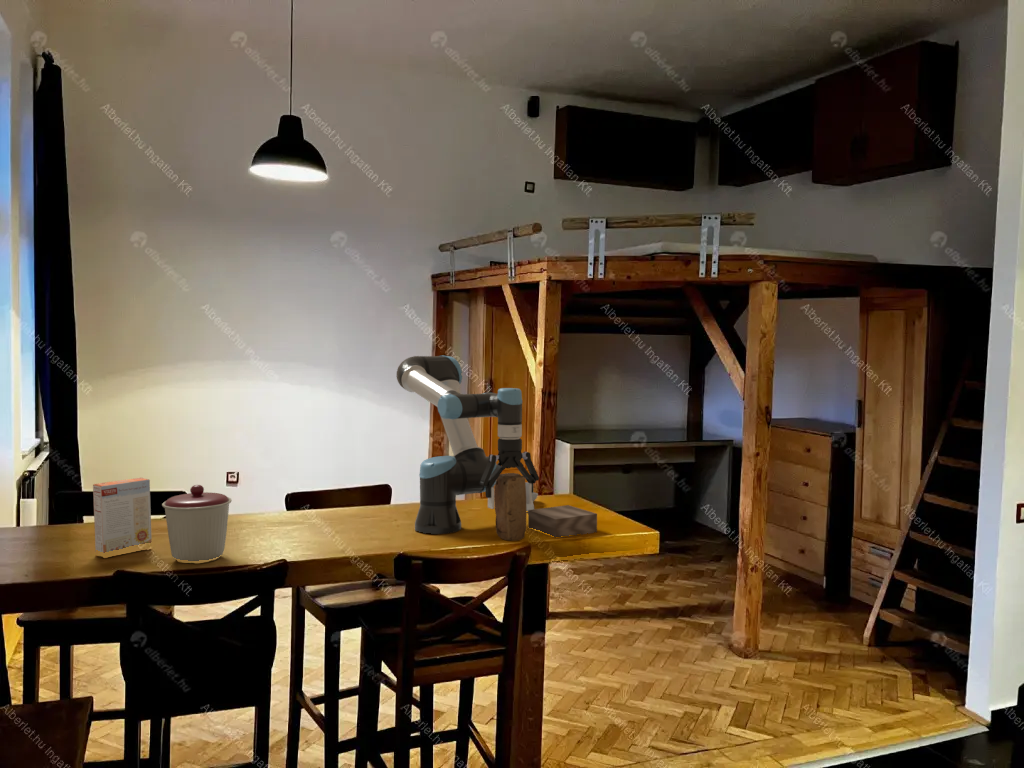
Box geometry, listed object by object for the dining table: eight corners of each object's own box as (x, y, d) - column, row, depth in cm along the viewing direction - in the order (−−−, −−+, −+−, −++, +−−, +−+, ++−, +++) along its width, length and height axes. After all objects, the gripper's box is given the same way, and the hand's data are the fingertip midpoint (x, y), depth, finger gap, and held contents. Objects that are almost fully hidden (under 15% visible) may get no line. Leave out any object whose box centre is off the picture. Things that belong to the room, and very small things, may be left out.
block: (528, 540, 250) (528, 475, 249) (506, 543, 246) (506, 477, 245) (512, 532, 259) (512, 470, 258) (491, 535, 256) (491, 472, 255)
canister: (226, 548, 239) (225, 477, 238) (237, 563, 223) (236, 487, 222) (160, 556, 230) (158, 482, 229) (166, 572, 214) (165, 493, 213)
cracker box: (142, 546, 241) (141, 476, 240) (152, 549, 237) (151, 478, 236) (94, 555, 230) (92, 483, 229) (103, 559, 226) (101, 485, 225)
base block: (555, 538, 252) (556, 519, 252) (528, 528, 266) (528, 510, 265) (596, 532, 260) (597, 513, 260) (568, 522, 274) (568, 505, 274)
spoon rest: (505, 500, 313) (505, 482, 313) (535, 500, 315) (535, 482, 314) (512, 513, 290) (512, 493, 289) (545, 513, 291) (545, 493, 291)
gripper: (480, 441, 241) (480, 512, 242) (549, 436, 254) (549, 503, 255) (468, 439, 248) (468, 507, 249) (536, 434, 261) (536, 499, 262)
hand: (509, 505), depth 252 cm, fingers open, 13 cm apart
